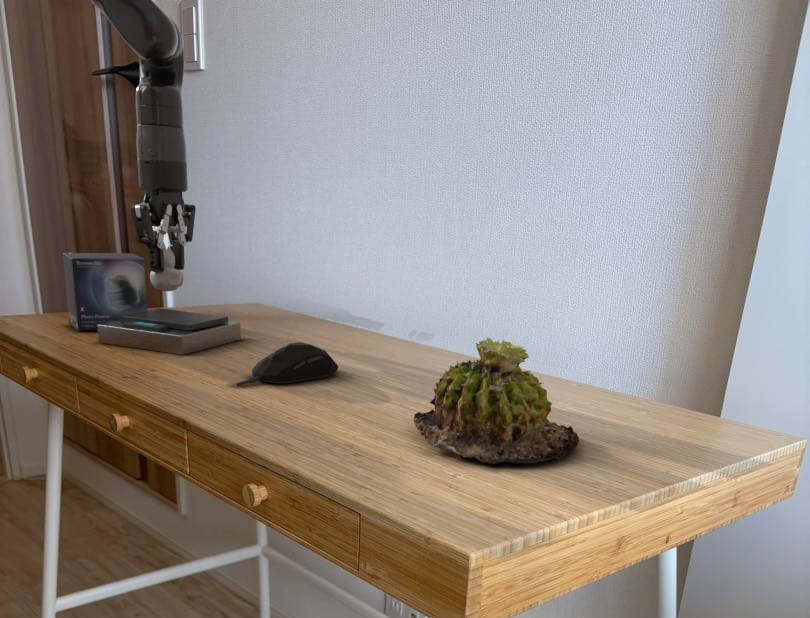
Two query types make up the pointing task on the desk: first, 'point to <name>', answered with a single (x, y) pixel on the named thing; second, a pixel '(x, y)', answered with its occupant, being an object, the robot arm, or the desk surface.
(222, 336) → the scale
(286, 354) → the gaming mouse
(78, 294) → the small box
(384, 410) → the desk surface
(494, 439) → the cactus
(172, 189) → the robot arm
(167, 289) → the beige lumpy figurine
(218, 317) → the scale pan
